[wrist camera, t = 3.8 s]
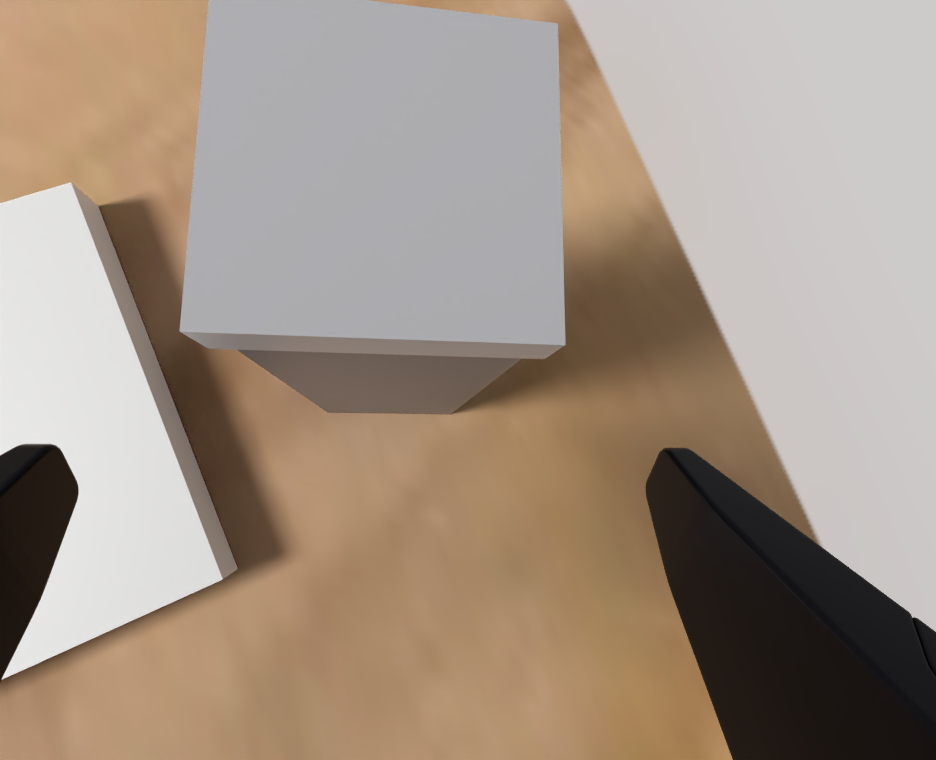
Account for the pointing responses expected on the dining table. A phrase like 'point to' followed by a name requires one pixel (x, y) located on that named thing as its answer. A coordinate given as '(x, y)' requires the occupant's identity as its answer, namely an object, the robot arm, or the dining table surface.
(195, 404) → the dining table surface
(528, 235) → the plug
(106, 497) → the socket plate
